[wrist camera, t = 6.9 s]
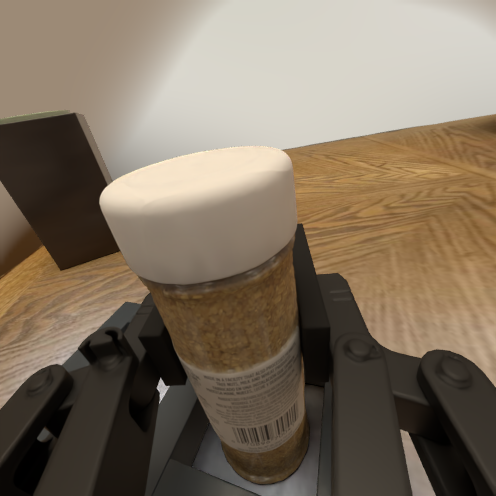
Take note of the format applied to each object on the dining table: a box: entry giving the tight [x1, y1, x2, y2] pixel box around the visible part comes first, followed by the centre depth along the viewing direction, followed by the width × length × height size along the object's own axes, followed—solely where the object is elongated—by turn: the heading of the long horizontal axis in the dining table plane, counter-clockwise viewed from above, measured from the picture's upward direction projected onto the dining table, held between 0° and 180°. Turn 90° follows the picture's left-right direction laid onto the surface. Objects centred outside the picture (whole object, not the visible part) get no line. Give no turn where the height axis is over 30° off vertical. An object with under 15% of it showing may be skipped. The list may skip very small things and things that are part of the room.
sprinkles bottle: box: [99, 146, 310, 484], centre depth 9 cm, size 5×5×14 cm
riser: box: [0, 113, 120, 270], centre depth 31 cm, size 9×9×16 cm
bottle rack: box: [37, 302, 332, 496], centre depth 13 cm, size 17×9×2 cm, turn 71°
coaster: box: [0, 110, 70, 124], centre depth 27 cm, size 7×7×1 cm
